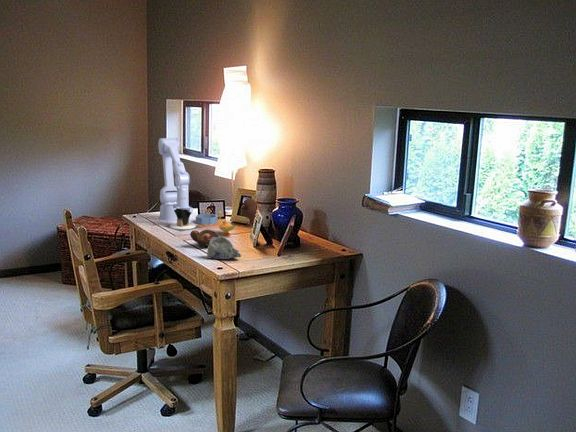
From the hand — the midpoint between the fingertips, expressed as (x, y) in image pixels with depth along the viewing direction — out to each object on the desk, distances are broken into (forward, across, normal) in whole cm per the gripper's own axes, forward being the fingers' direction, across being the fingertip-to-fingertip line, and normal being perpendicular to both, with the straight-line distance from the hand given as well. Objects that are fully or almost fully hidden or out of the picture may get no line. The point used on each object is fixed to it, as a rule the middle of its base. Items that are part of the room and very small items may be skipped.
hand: (183, 223), depth 295 cm
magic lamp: (+2, +27, +7) cm, 28 cm away
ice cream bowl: (+2, +20, +29) cm, 35 cm away
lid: (+2, 0, 0) cm, 2 cm away
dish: (+2, 0, +16) cm, 16 cm away
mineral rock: (+2, +57, -22) cm, 61 cm away
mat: (+2, 0, 0) cm, 2 cm away
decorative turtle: (+2, +37, -14) cm, 40 cm away
